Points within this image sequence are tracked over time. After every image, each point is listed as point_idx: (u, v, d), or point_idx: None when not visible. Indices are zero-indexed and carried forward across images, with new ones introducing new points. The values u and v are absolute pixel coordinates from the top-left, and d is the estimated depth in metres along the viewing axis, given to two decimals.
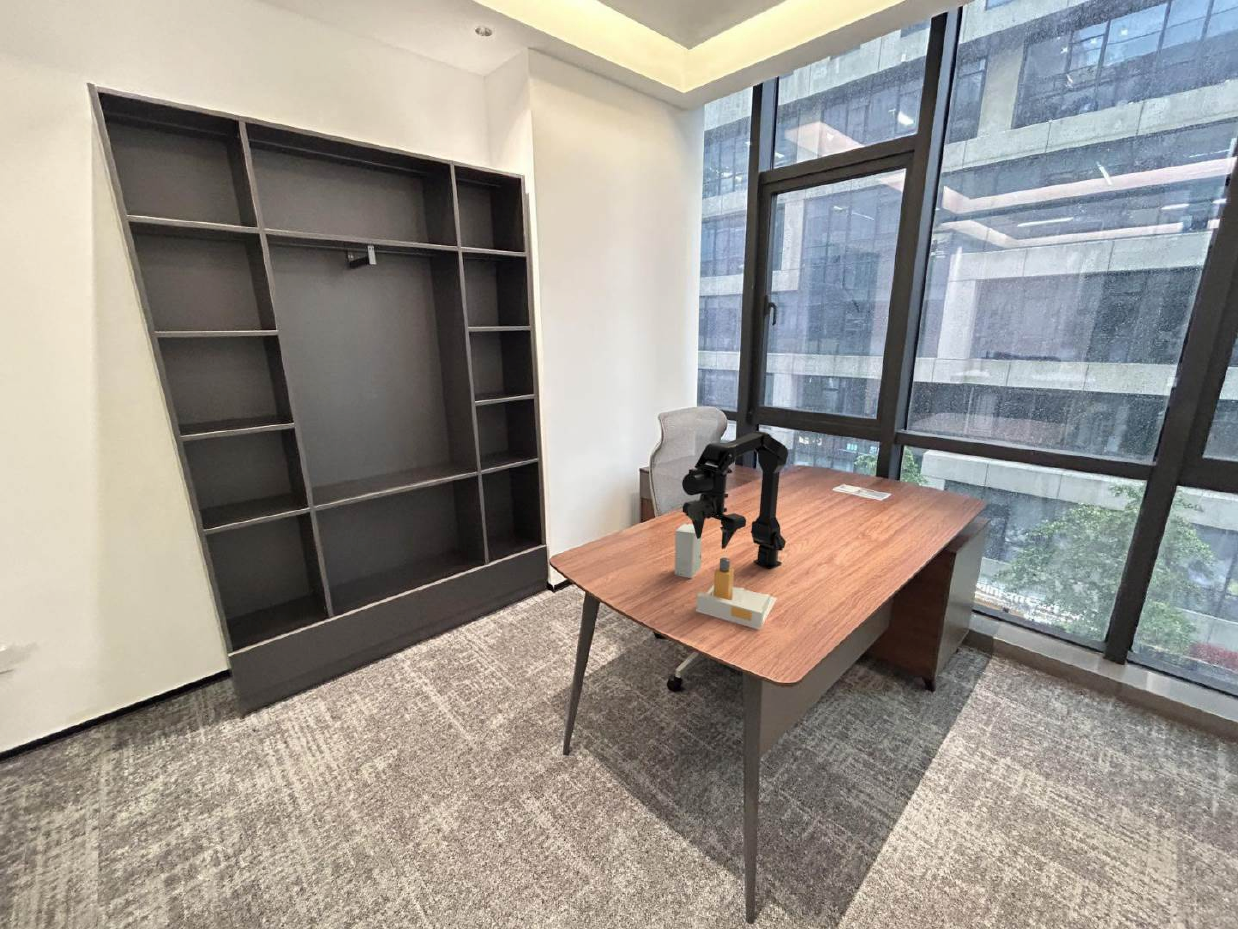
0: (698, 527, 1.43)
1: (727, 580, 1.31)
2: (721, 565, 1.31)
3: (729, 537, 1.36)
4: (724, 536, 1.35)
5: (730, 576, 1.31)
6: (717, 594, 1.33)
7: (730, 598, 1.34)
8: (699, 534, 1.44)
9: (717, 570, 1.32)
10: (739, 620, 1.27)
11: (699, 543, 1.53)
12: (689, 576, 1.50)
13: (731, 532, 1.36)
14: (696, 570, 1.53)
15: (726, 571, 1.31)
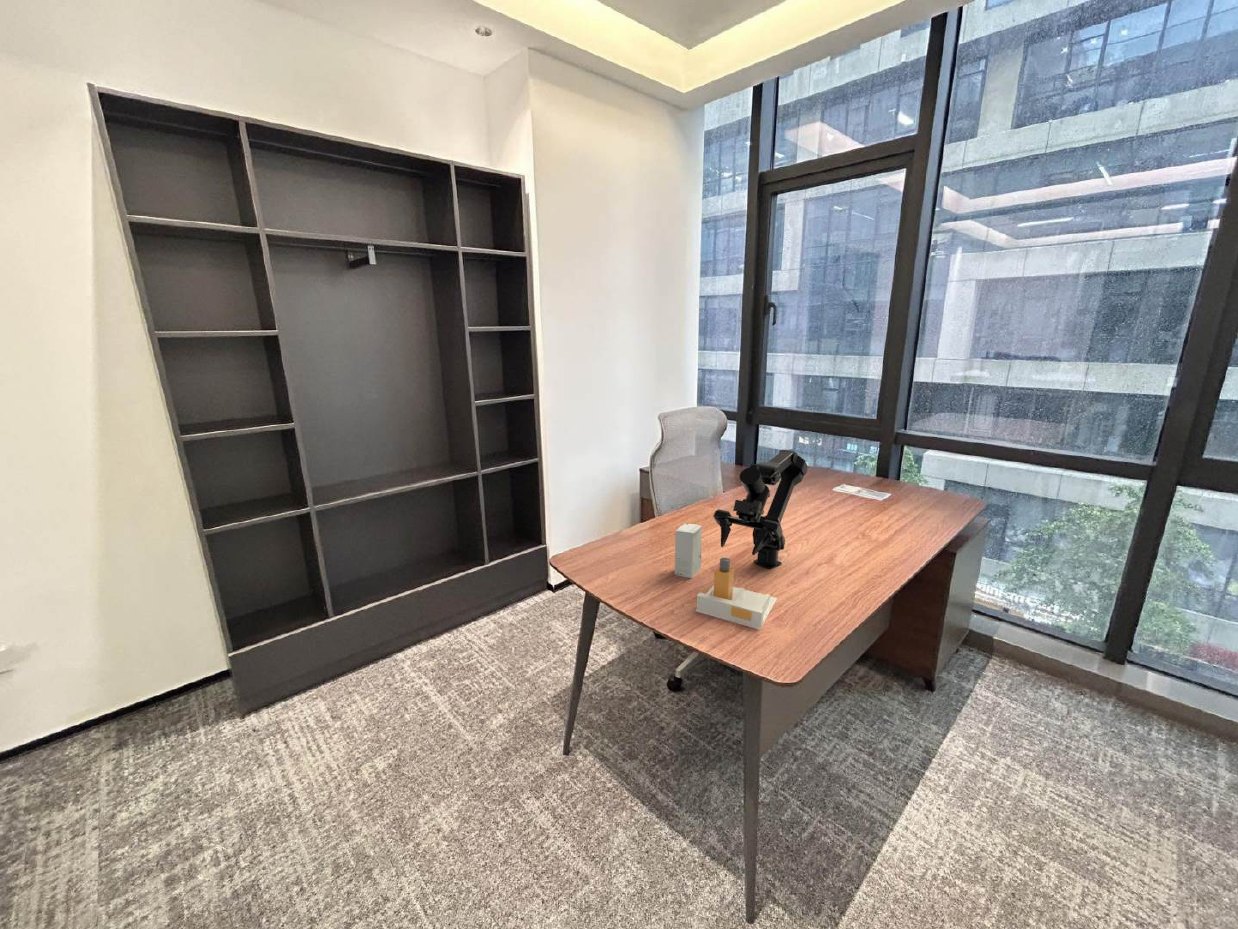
0: (724, 535, 1.42)
1: (727, 580, 1.31)
2: (721, 565, 1.31)
3: (761, 545, 1.37)
4: (760, 540, 1.35)
5: (730, 576, 1.31)
6: (717, 594, 1.33)
7: (730, 598, 1.34)
8: (723, 542, 1.41)
9: (717, 570, 1.32)
10: (739, 620, 1.27)
11: (699, 543, 1.53)
12: (689, 576, 1.50)
13: (764, 541, 1.37)
14: (696, 570, 1.53)
15: (726, 571, 1.31)
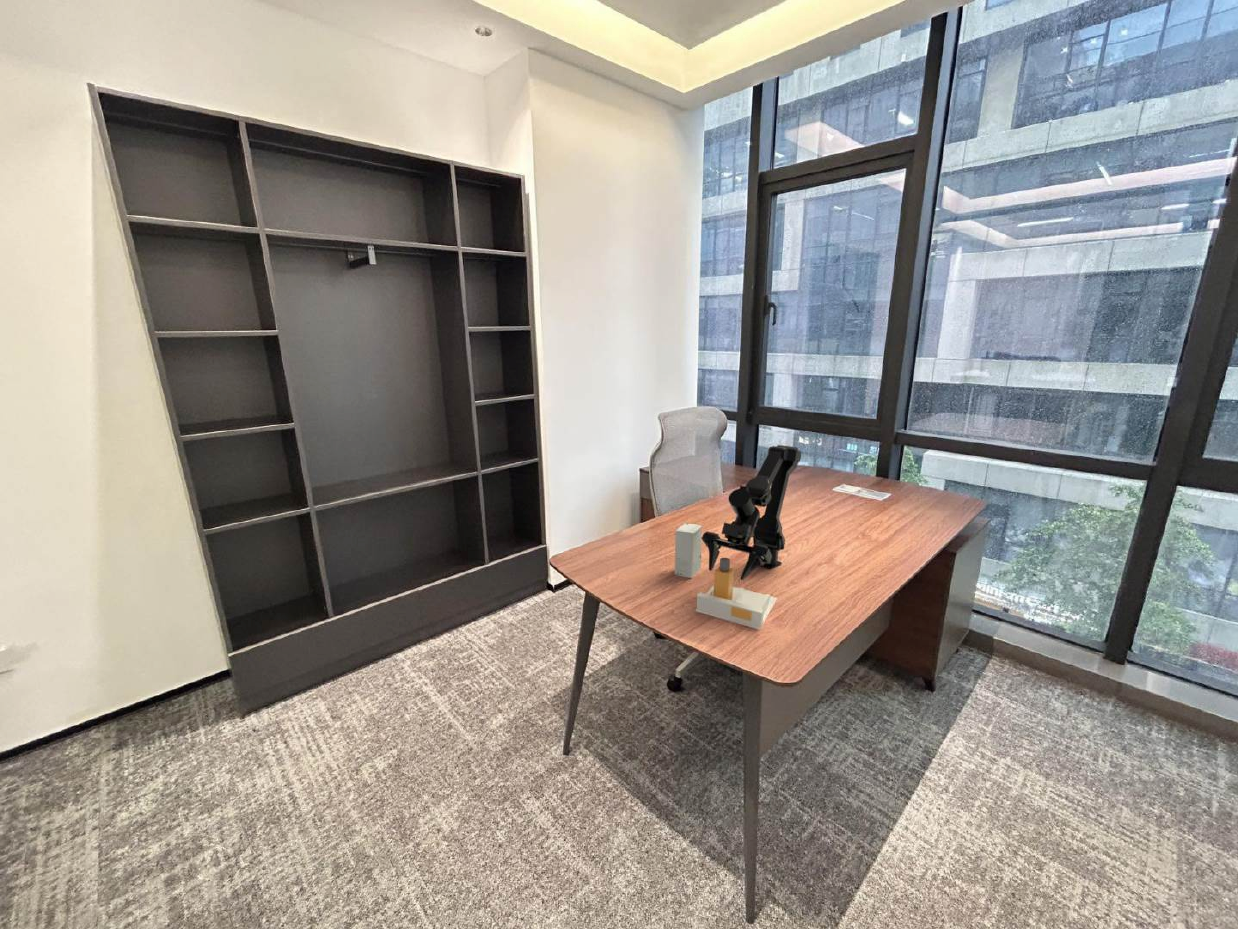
0: (713, 558, 1.38)
1: (727, 580, 1.31)
2: (721, 565, 1.31)
3: (750, 570, 1.32)
4: (749, 564, 1.31)
5: (730, 576, 1.31)
6: (717, 594, 1.33)
7: (730, 598, 1.34)
8: (712, 566, 1.37)
9: (717, 570, 1.32)
10: (739, 620, 1.27)
11: (699, 543, 1.53)
12: (689, 576, 1.50)
13: (753, 566, 1.33)
14: (696, 570, 1.53)
15: (726, 571, 1.31)
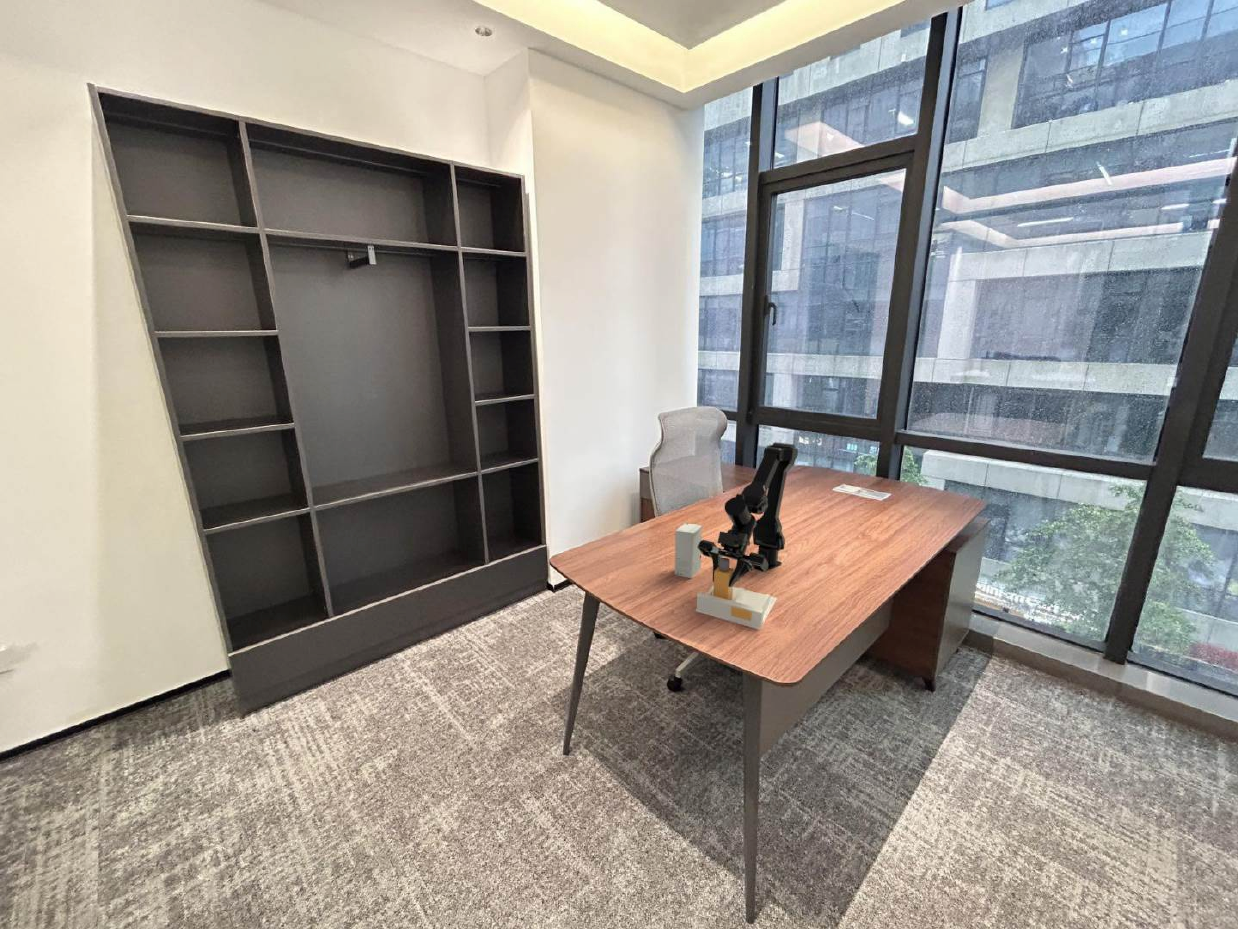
0: None
1: (727, 580, 1.31)
2: (721, 565, 1.31)
3: (738, 577, 1.32)
4: (737, 571, 1.31)
5: (730, 576, 1.31)
6: (717, 594, 1.33)
7: (730, 598, 1.34)
8: None
9: (717, 570, 1.32)
10: (739, 620, 1.27)
11: None
12: (689, 576, 1.50)
13: (741, 572, 1.33)
14: (696, 570, 1.53)
15: (726, 571, 1.31)
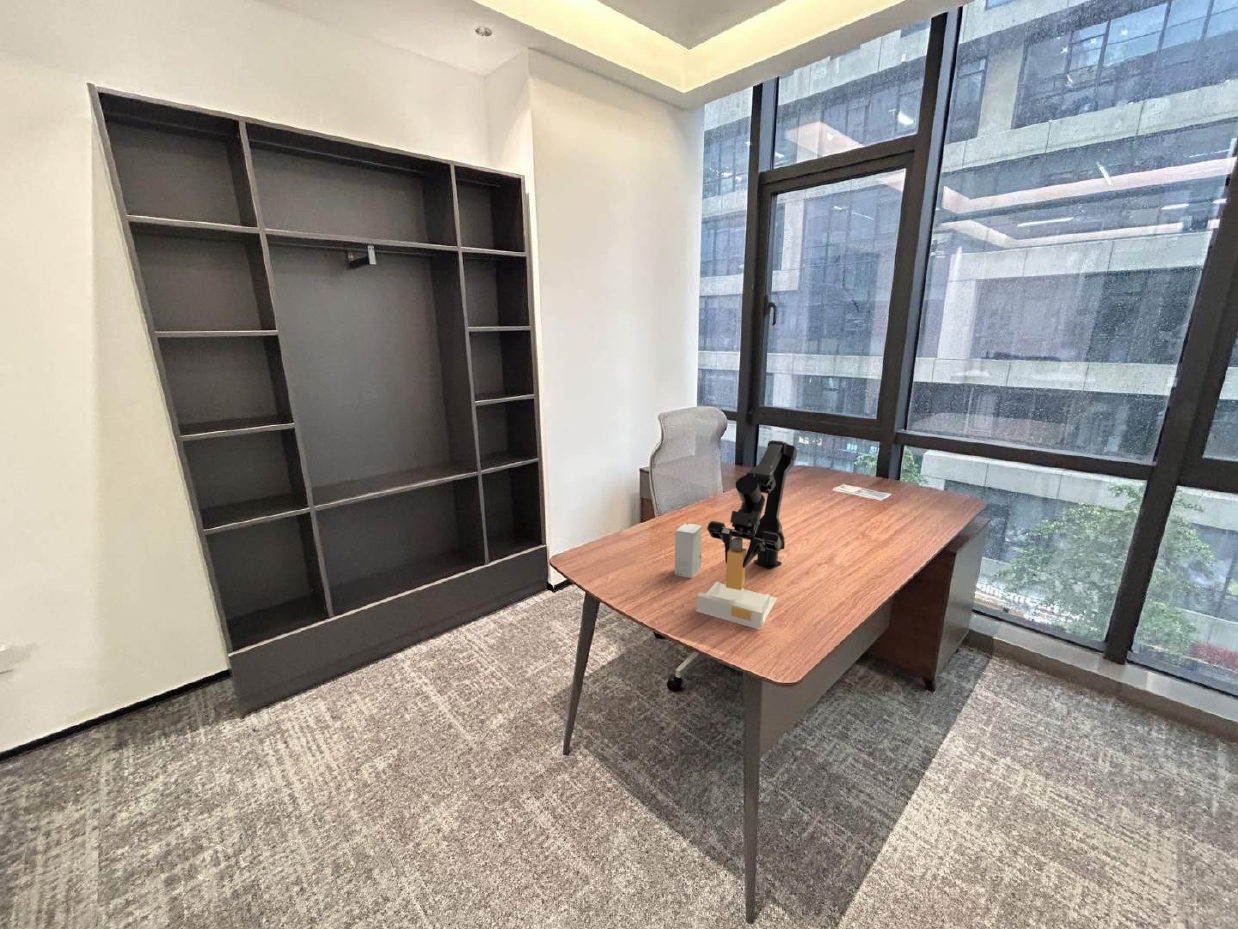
0: None
1: (741, 561, 1.27)
2: (734, 545, 1.28)
3: (752, 556, 1.29)
4: (750, 551, 1.28)
5: (743, 556, 1.28)
6: (730, 575, 1.29)
7: (743, 579, 1.31)
8: None
9: (730, 551, 1.29)
10: (739, 620, 1.27)
11: (699, 543, 1.53)
12: (689, 576, 1.50)
13: (754, 552, 1.30)
14: (696, 570, 1.53)
15: (739, 551, 1.28)
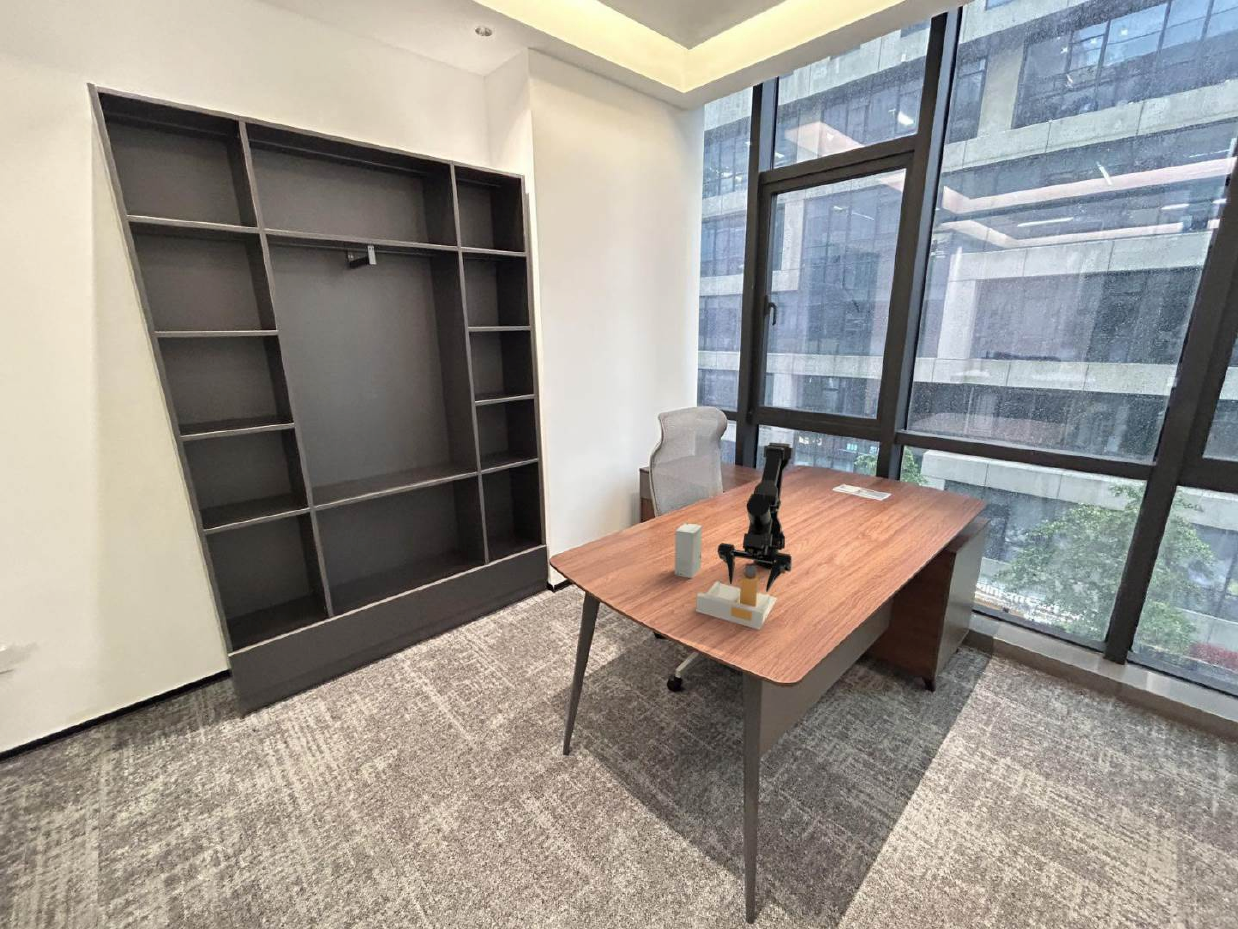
0: None
1: (755, 587, 1.27)
2: (748, 571, 1.28)
3: (773, 580, 1.28)
4: (773, 575, 1.27)
5: (757, 582, 1.28)
6: (743, 601, 1.29)
7: None
8: (732, 579, 1.31)
9: (743, 577, 1.29)
10: (739, 620, 1.27)
11: (699, 543, 1.53)
12: (689, 576, 1.50)
13: (775, 575, 1.29)
14: (696, 570, 1.53)
15: (753, 577, 1.28)
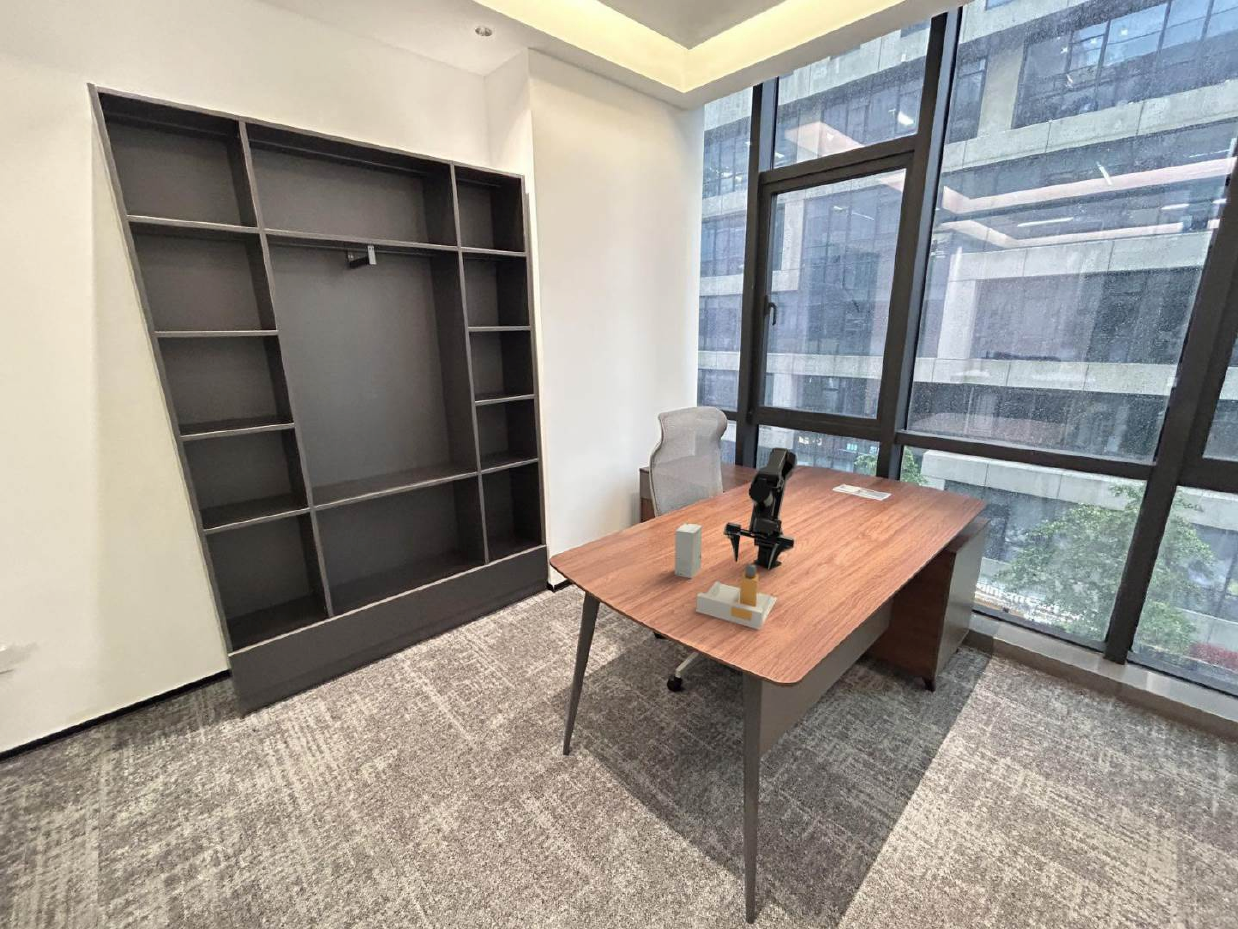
0: None
1: (755, 587, 1.27)
2: (748, 571, 1.28)
3: None
4: (776, 556, 1.37)
5: (757, 582, 1.28)
6: (743, 601, 1.29)
7: None
8: (737, 557, 1.39)
9: (743, 577, 1.29)
10: (739, 620, 1.27)
11: (699, 543, 1.53)
12: (689, 576, 1.50)
13: None
14: (696, 570, 1.53)
15: (753, 577, 1.28)
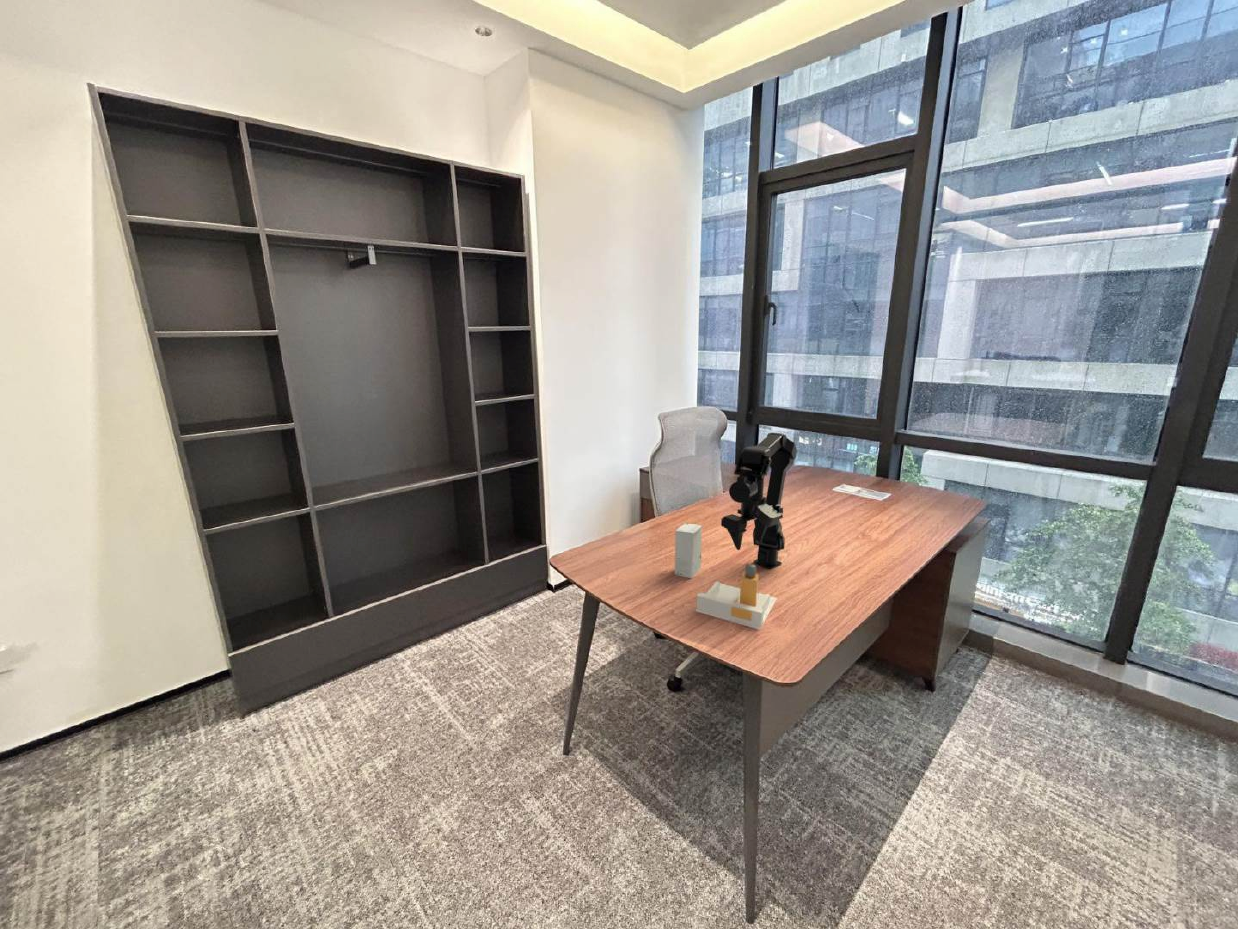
0: None
1: (755, 587, 1.27)
2: (748, 571, 1.28)
3: None
4: (765, 528, 1.44)
5: (757, 582, 1.28)
6: (743, 601, 1.29)
7: None
8: None
9: (743, 577, 1.29)
10: (739, 620, 1.27)
11: (699, 543, 1.53)
12: (689, 576, 1.50)
13: None
14: (696, 570, 1.53)
15: (753, 577, 1.28)
